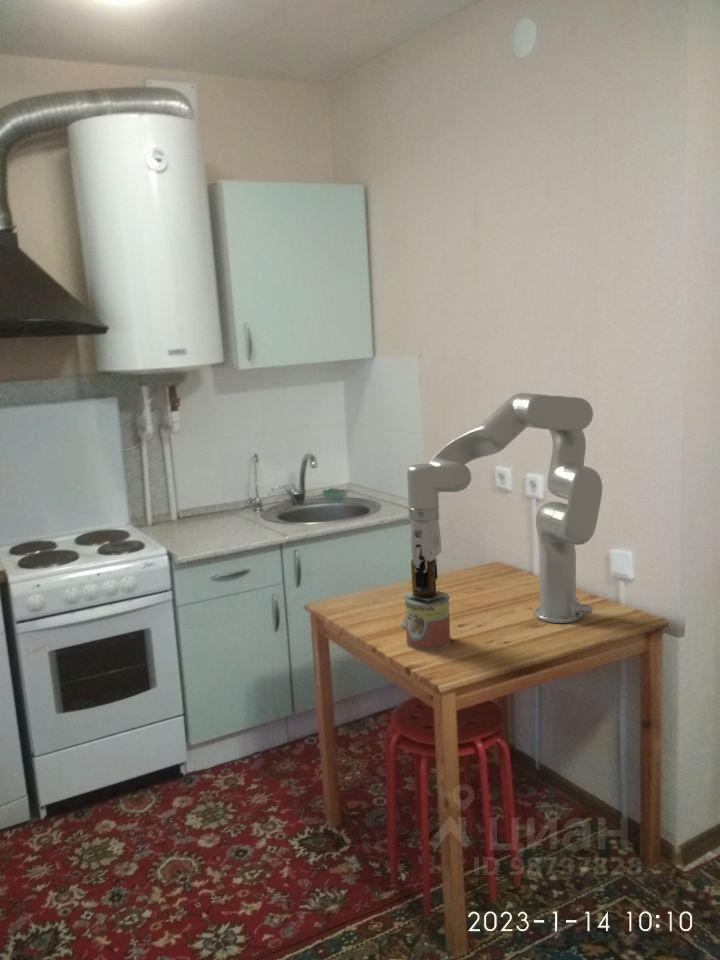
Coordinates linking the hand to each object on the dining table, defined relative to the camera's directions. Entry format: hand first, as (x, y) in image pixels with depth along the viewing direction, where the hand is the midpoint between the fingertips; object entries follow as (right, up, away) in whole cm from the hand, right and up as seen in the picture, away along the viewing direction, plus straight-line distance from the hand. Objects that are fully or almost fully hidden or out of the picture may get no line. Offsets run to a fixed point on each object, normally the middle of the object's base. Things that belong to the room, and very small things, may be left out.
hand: (426, 582), depth 200 cm
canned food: (+1, -16, +3) cm, 16 cm away
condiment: (0, -3, 0) cm, 3 cm away
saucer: (-1, -14, +15) cm, 20 cm away
